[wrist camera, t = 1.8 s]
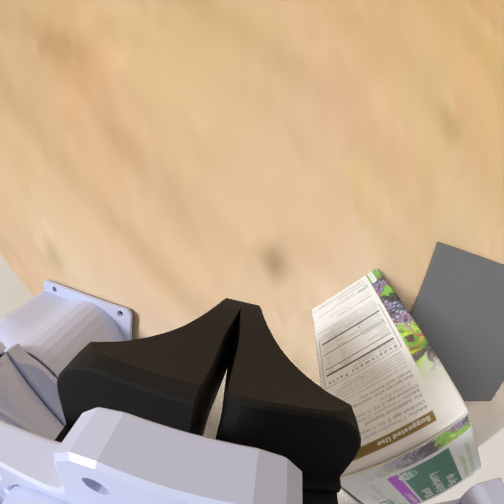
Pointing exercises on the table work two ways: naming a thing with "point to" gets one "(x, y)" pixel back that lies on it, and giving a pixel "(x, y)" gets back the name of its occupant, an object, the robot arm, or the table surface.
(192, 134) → the table surface
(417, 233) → the table surface
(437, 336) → the rubber mat
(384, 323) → the syrup box
